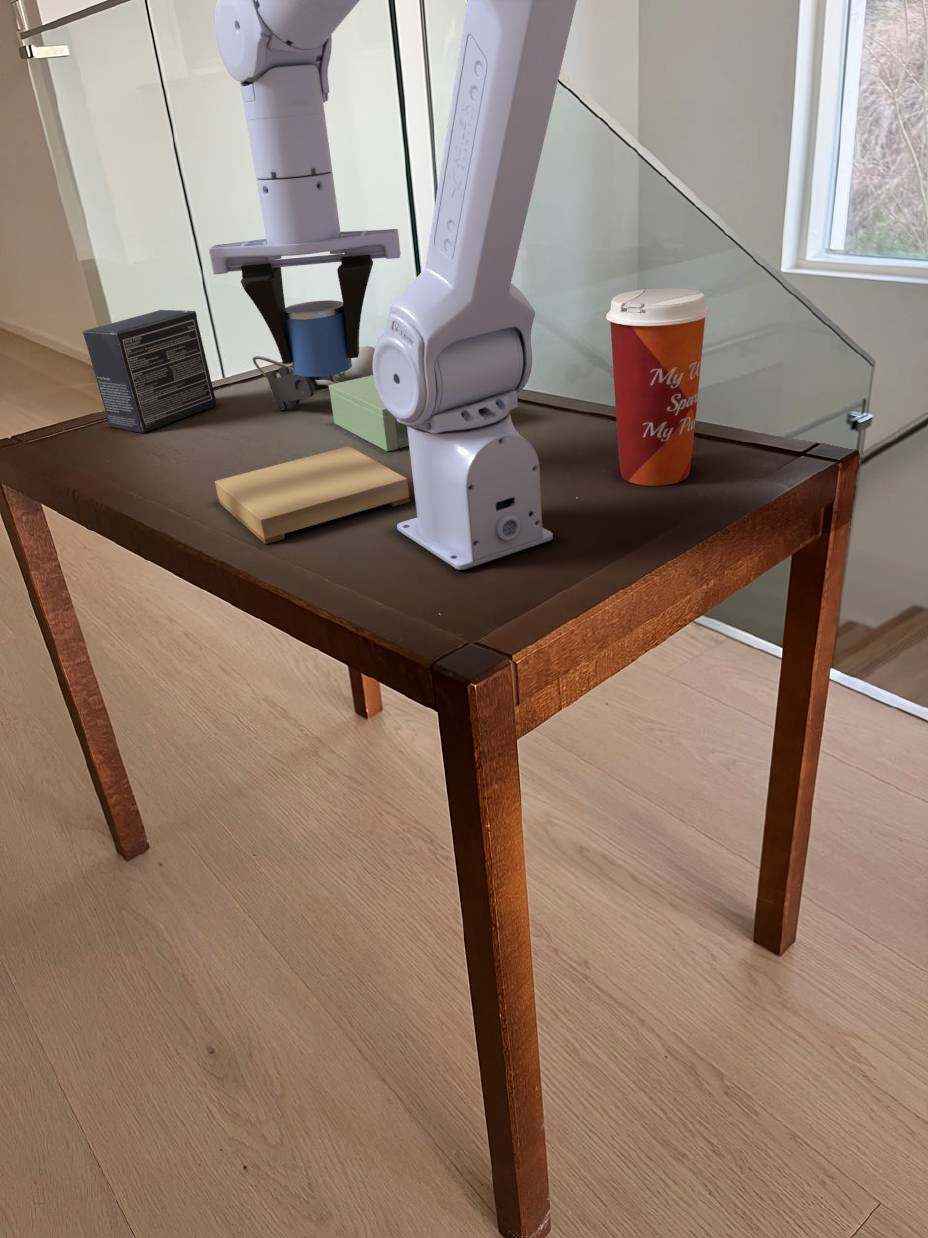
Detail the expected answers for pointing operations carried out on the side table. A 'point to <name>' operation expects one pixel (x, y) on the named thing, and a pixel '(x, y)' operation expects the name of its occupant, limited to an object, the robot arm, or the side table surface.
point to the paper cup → (656, 380)
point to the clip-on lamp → (312, 378)
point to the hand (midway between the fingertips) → (322, 358)
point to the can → (317, 338)
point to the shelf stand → (366, 414)
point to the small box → (151, 369)
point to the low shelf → (309, 492)
